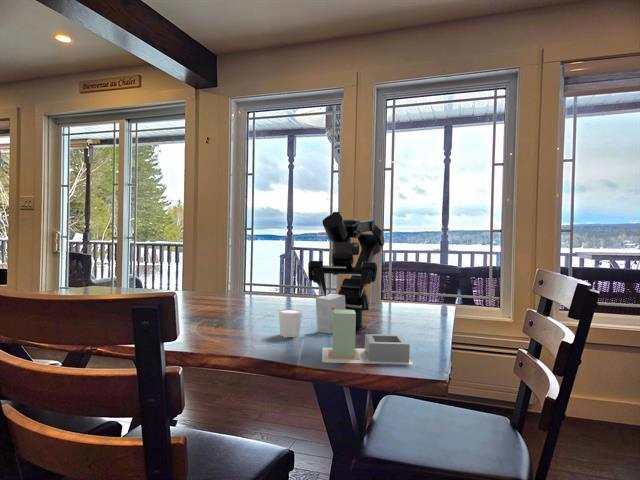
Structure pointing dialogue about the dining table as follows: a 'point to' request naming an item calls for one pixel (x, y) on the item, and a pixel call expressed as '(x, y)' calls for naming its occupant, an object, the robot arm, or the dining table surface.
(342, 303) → the small box
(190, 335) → the dining table surface
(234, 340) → the dining table surface
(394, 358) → the white board with socket
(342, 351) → the plug
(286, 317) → the white cup
